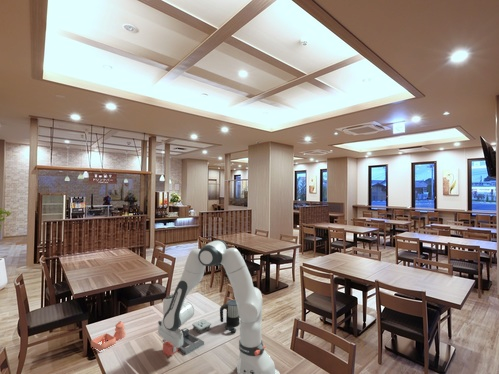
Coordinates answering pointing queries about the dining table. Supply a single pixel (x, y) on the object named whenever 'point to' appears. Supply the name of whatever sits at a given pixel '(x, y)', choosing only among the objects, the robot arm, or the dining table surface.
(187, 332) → the breaker
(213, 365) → the dining table surface
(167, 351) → the lockout cap
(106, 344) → the pottery
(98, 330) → the dining table surface
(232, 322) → the milk frother
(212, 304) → the dining table surface
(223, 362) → the dining table surface
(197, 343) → the panel
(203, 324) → the electrical switch
